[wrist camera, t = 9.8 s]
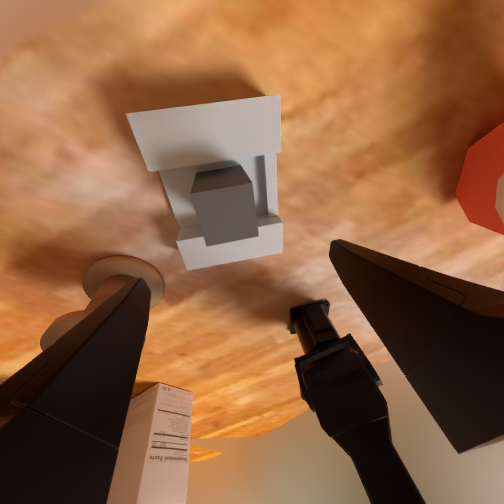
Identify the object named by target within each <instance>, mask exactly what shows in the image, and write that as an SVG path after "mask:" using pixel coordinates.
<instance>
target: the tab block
mask: <svg viewBox="0 0 504 504" xmlns="http://www.w3.org/2000/svg"><path fill="white" fill-rule="evenodd" d="M190 196H191V199H192V202H193V205H194V209H195V212H196V215H197V218H198V221H199V224H200V228H201V231H202V234H203V237H204V240H205V244H206V247H208V246H213V245H218V244H223V243H228V242H233V241H238V240H243V239H248V238H253V237H258V236H259V232H258V224H257V216H256V207H255V199H254V191H253V183H252V181H251V180H250V178H249V177H248V175H247V174H246V172H245V171H244V169H243V168H242V166H241V165H238V166H233V167H227V168H221V169H215V170H210V171H204V172H198V173H196V175H195V178H194V182H193V185H192V188H191V192H190Z"/></svg>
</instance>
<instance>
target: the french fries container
mask: <svg viewBox="0 0 504 504" xmlns="http://www.w3.org/2000/svg"><path fill="white" fill-rule="evenodd" d="M455 196H456V198H457V200H458V202H459V203H460V205H461V207H462V209H463V211H464V212H465V214H466V216H467V218H468V220H469V221H470V222H472V223H474V224H477V225H479V226H482V227H484V228H487V229H489V230H492V231H495V232H497V233H500V234H502V235H504V122H503V123H502V124H500V125H499V126H497V127H496V128H495V129H493V130H492V131H491V132H489V133H488V134H487V135H485V136H484V137H483V138H481V139H480V140H479V141H477V142H476V143H475V144H473V145H472V146H470V147H469V148H468V150H467V154H466V157H465V161H464V164H463V168H462V171H461V175H460V178H459V182H458V185H457V189H456V192H455Z"/></svg>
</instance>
